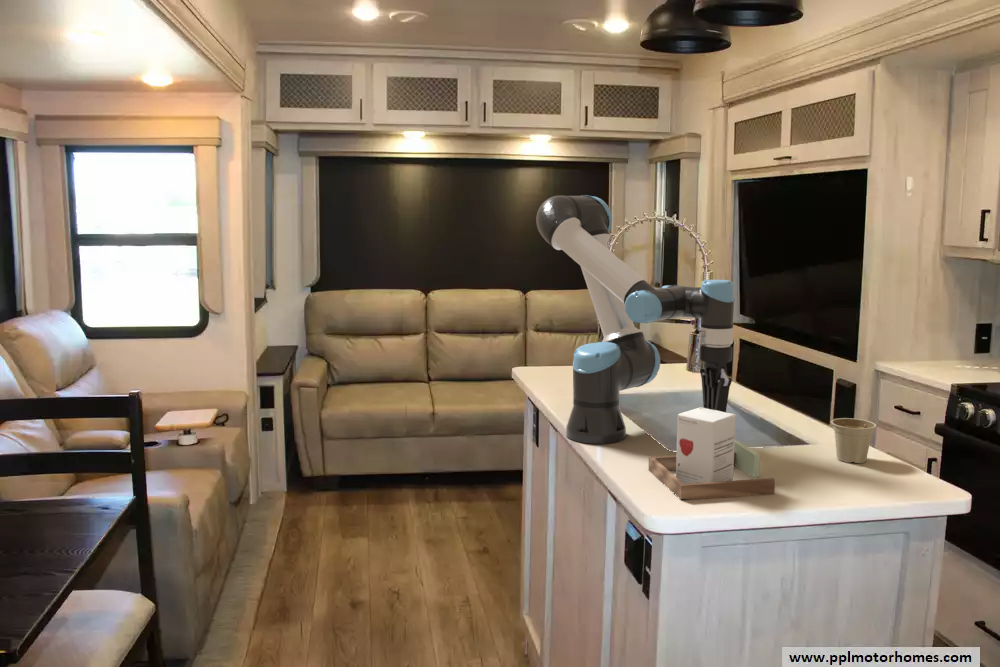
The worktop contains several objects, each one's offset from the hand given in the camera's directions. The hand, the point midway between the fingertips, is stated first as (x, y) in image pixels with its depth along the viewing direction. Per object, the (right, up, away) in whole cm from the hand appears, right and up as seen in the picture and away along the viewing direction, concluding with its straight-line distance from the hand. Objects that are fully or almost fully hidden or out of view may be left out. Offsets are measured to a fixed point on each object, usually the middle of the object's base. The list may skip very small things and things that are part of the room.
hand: (713, 440), depth 195 cm
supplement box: (-9, -6, -25) cm, 27 cm away
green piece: (+3, -4, -14) cm, 14 cm away
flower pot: (+29, -3, -11) cm, 31 cm away
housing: (-8, -5, -25) cm, 27 cm away
